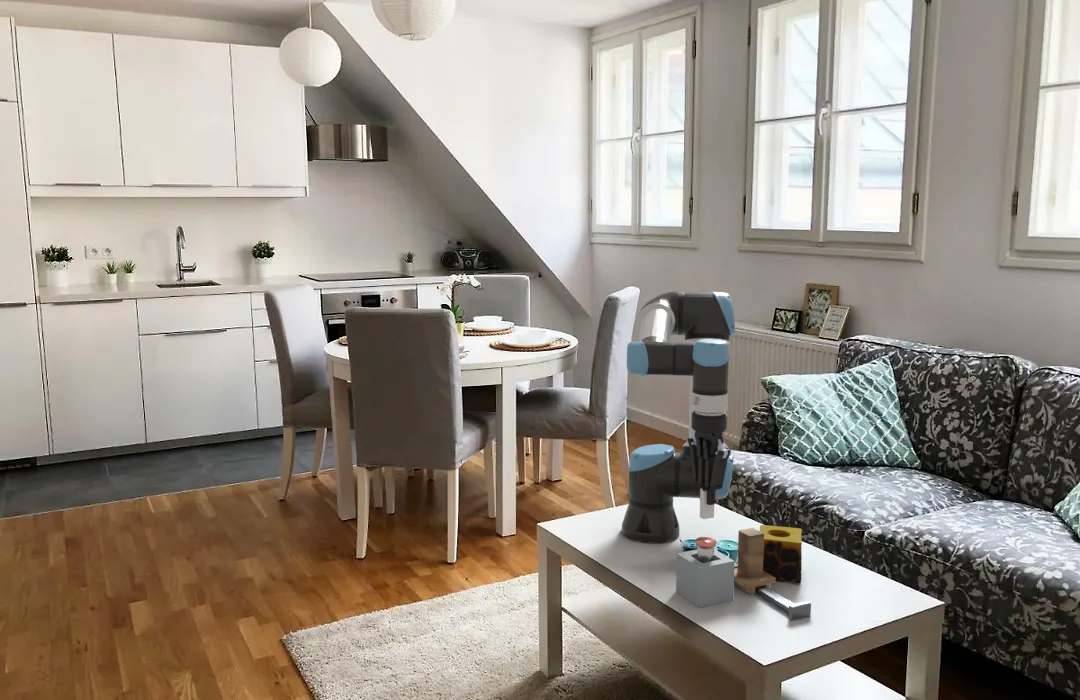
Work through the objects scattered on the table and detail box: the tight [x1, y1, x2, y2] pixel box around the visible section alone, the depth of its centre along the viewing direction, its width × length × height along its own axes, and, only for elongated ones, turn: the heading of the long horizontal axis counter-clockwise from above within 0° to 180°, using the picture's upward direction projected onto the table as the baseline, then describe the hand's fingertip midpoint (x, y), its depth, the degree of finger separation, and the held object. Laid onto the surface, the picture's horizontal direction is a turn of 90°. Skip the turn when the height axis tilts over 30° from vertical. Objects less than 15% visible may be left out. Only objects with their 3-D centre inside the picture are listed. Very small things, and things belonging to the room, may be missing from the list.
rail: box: [734, 563, 812, 621], centre depth 196 cm, size 23×5×3 cm, turn 24°
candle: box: [759, 524, 803, 585], centre depth 208 cm, size 10×10×10 cm
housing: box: [675, 548, 736, 608], centre depth 197 cm, size 9×9×9 cm
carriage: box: [734, 527, 777, 596], centre depth 201 cm, size 8×8×13 cm
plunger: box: [695, 536, 717, 563], centre depth 196 cm, size 4×4×5 cm
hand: (706, 517), depth 194 cm, fingers closed
